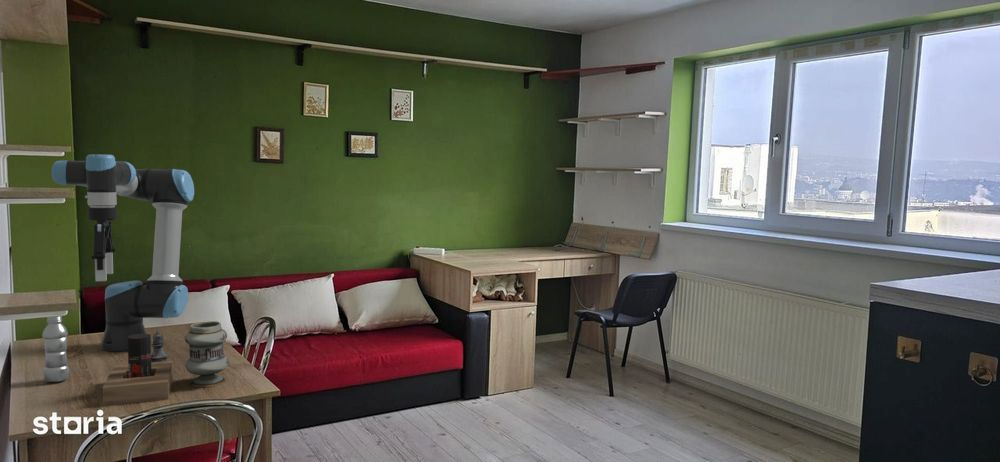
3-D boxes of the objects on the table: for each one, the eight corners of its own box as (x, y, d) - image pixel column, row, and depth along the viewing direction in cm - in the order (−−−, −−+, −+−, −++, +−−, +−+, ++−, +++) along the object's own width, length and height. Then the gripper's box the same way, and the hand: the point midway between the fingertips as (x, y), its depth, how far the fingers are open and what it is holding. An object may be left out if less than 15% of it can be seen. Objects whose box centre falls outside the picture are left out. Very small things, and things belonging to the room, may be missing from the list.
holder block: (114, 381, 207) (114, 365, 206) (173, 376, 213) (172, 360, 212) (103, 405, 187) (102, 387, 186) (168, 399, 193) (167, 381, 192)
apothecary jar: (177, 382, 207) (176, 324, 205) (214, 373, 217) (213, 317, 215) (200, 390, 200) (199, 330, 198) (237, 380, 210) (236, 323, 208)
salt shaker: (160, 369, 220) (159, 333, 218) (144, 368, 221) (143, 331, 220) (172, 364, 225) (171, 328, 224) (156, 363, 226) (155, 327, 225)
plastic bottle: (51, 378, 209) (48, 313, 207) (74, 377, 210) (71, 313, 208) (38, 384, 203) (36, 318, 201) (62, 384, 203) (60, 318, 202)
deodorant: (156, 385, 201) (155, 335, 200) (138, 391, 196) (137, 339, 195) (142, 382, 204) (141, 332, 202) (124, 387, 198) (122, 337, 197)
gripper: (94, 204, 213) (97, 271, 215) (79, 209, 190) (82, 284, 192) (121, 204, 216) (124, 270, 218) (110, 209, 193) (113, 283, 195)
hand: (104, 277), depth 205 cm, fingers open, 13 cm apart
